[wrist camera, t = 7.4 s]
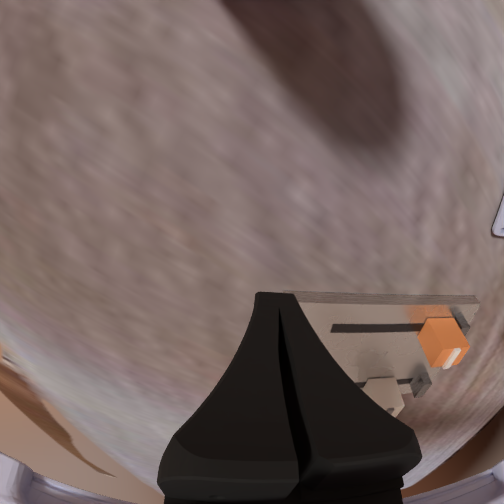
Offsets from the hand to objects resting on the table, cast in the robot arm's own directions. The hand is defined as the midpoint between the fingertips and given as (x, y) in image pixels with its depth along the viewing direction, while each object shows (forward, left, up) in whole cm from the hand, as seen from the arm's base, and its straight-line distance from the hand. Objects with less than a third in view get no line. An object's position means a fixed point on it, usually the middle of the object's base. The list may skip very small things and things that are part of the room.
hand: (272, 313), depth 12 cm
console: (-11, +13, -9) cm, 19 cm away
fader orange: (-16, +9, -8) cm, 20 cm away
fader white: (-13, +17, -8) cm, 23 cm away
